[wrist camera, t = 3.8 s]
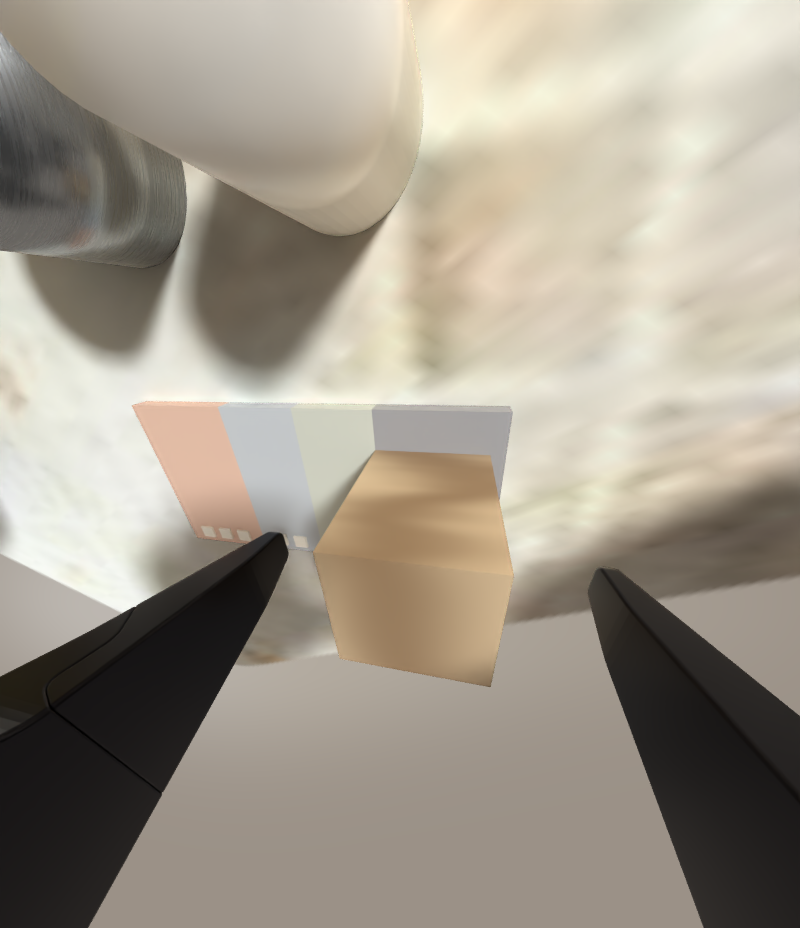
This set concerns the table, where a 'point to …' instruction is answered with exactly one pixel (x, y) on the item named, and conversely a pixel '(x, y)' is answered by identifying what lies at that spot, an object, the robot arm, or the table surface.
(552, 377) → the table surface
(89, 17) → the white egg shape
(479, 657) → the oak block
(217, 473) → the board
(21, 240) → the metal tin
